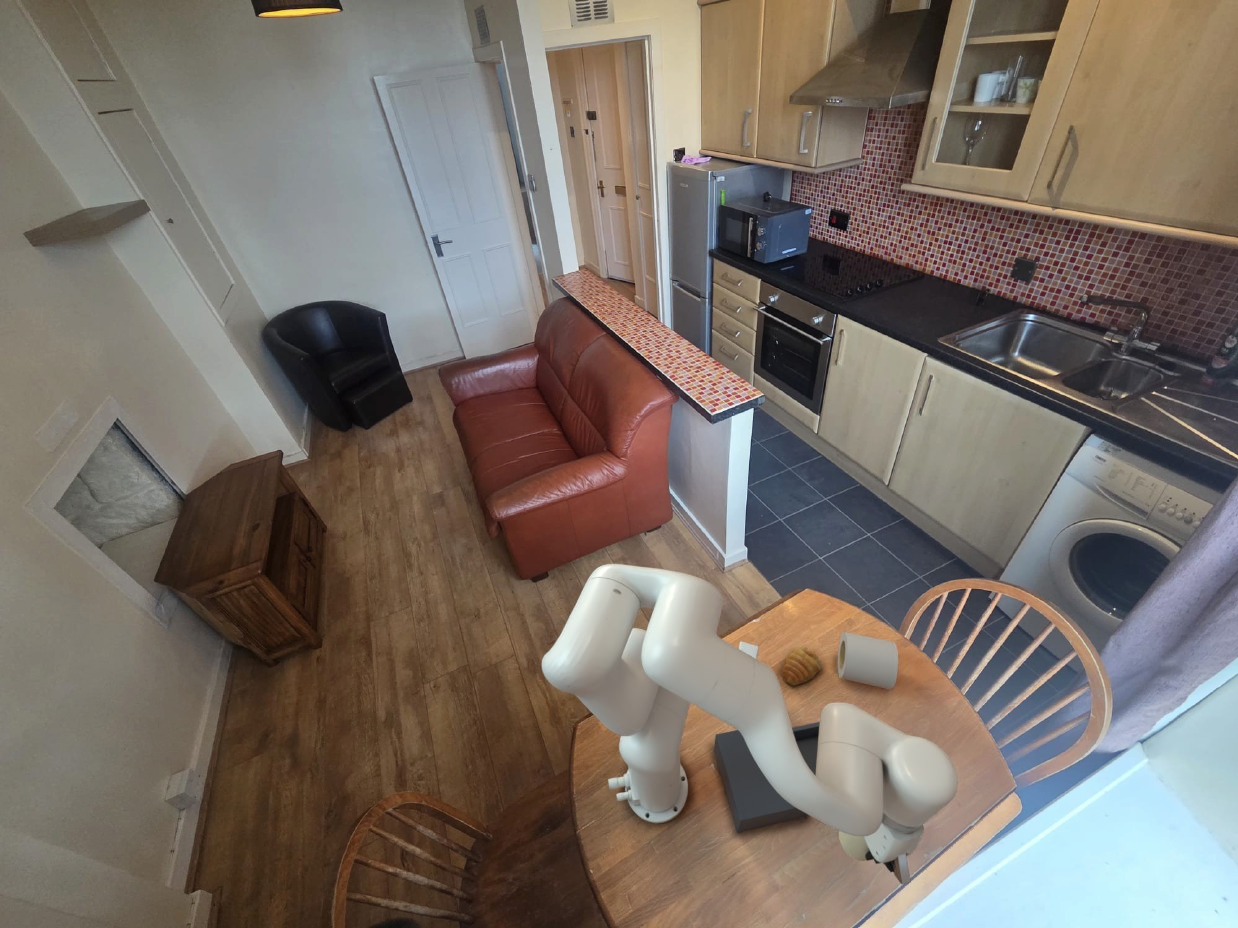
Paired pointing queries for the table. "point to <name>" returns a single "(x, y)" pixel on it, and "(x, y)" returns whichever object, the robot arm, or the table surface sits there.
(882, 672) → the toilet paper
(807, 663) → the pastry
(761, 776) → the cabinet
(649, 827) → the table surface
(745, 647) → the cosmetic box
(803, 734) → the drawer
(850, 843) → the paper roll
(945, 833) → the table surface
